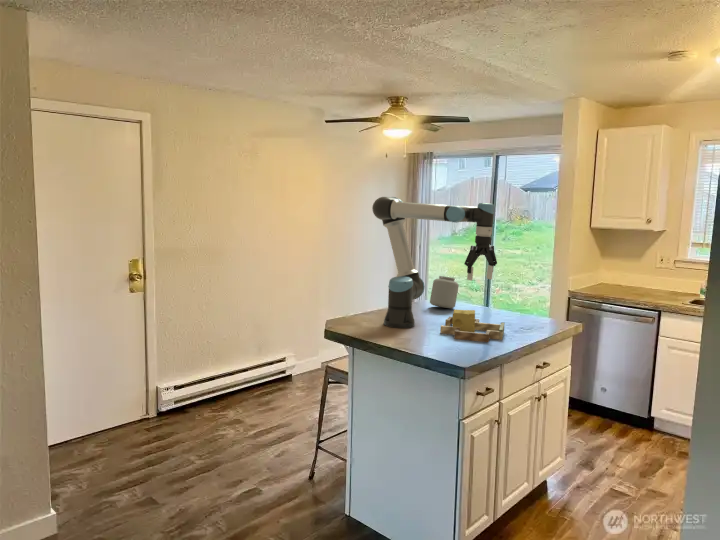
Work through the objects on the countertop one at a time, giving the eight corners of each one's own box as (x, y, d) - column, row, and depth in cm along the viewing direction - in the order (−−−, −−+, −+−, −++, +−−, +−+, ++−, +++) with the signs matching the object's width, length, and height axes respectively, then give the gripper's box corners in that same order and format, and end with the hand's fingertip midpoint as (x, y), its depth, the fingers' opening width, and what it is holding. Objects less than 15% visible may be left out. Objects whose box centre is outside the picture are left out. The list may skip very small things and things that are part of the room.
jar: (443, 304, 324) (445, 263, 321) (464, 308, 314) (466, 265, 311) (424, 308, 310) (426, 265, 307) (445, 312, 300) (447, 268, 297)
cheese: (474, 335, 249) (475, 314, 247) (451, 333, 251) (452, 312, 249) (474, 330, 259) (475, 310, 258) (451, 328, 261) (452, 308, 260)
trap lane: (437, 337, 243) (438, 327, 242) (447, 323, 272) (448, 314, 272) (501, 343, 235) (501, 333, 234) (504, 328, 264) (505, 319, 263)
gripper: (470, 236, 245) (467, 281, 248) (507, 236, 259) (503, 279, 262) (459, 234, 251) (455, 279, 254) (495, 235, 266) (491, 277, 268)
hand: (479, 279), depth 258 cm, fingers open, 13 cm apart
